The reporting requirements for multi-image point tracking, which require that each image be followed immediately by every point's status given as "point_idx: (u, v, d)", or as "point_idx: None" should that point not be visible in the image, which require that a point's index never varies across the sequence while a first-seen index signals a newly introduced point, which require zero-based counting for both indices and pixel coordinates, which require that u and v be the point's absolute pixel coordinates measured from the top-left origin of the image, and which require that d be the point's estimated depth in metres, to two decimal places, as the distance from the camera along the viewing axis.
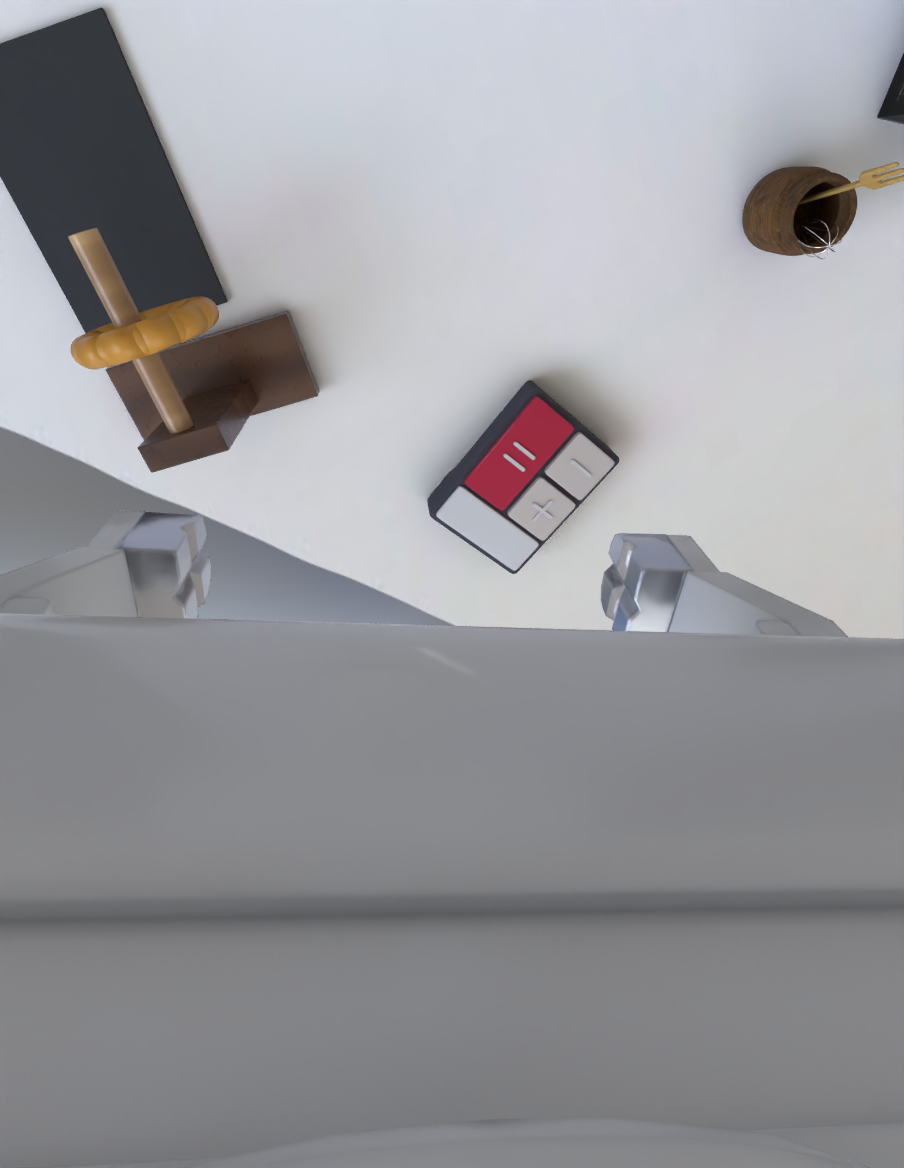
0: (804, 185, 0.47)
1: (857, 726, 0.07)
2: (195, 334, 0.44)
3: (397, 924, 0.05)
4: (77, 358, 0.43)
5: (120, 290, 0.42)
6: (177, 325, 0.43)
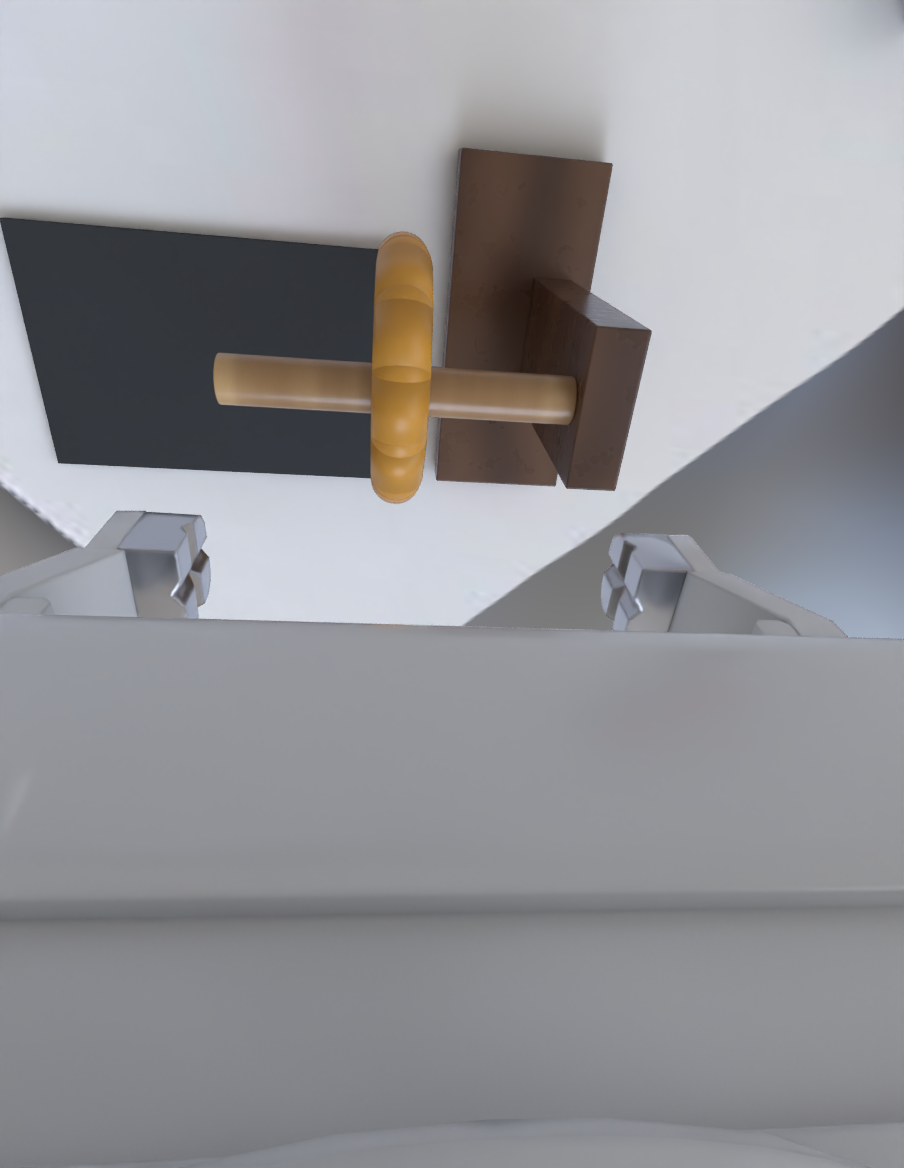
0: None
1: (856, 725, 0.07)
2: (429, 278, 0.22)
3: (397, 924, 0.05)
4: (395, 495, 0.25)
5: (318, 369, 0.24)
6: (400, 294, 0.21)
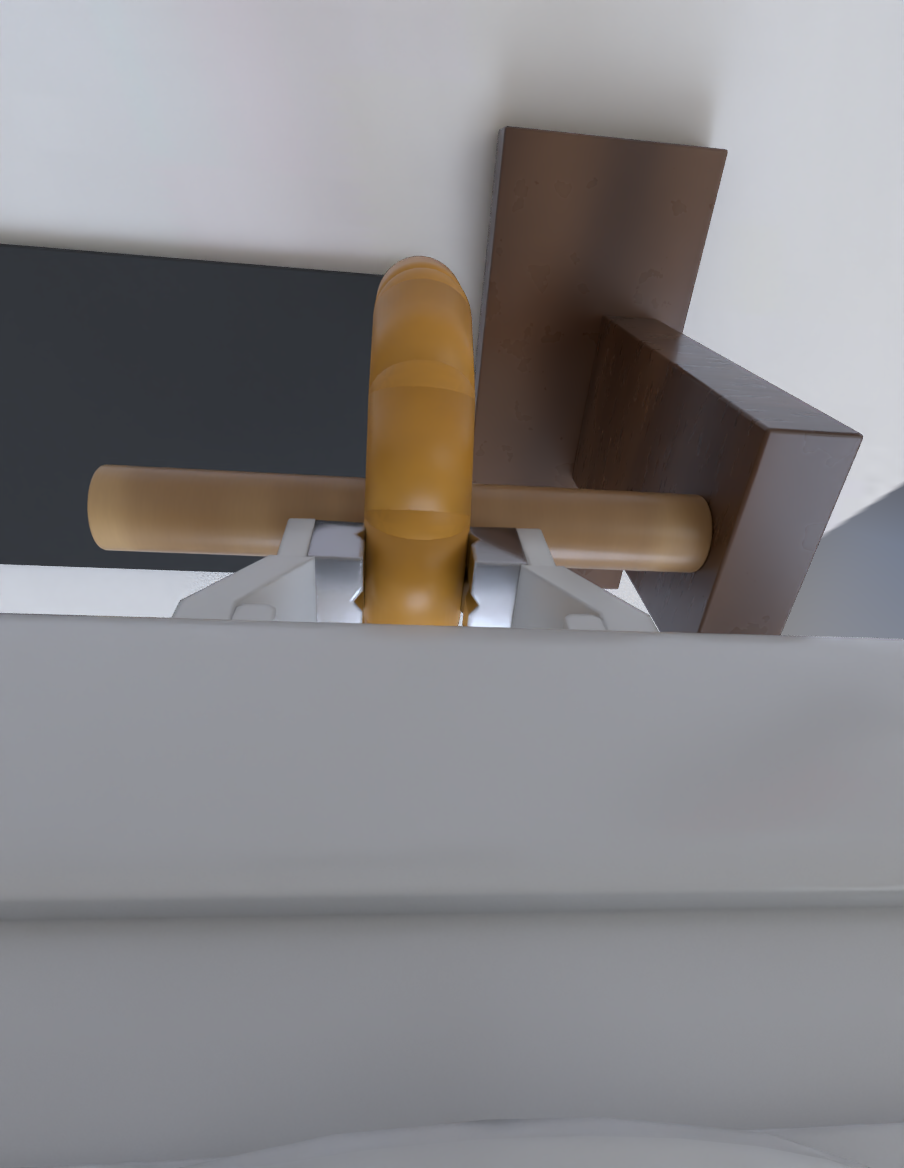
0: None
1: (857, 726, 0.07)
2: (468, 343, 0.13)
3: (396, 925, 0.05)
4: None
5: (272, 494, 0.14)
6: (418, 379, 0.11)
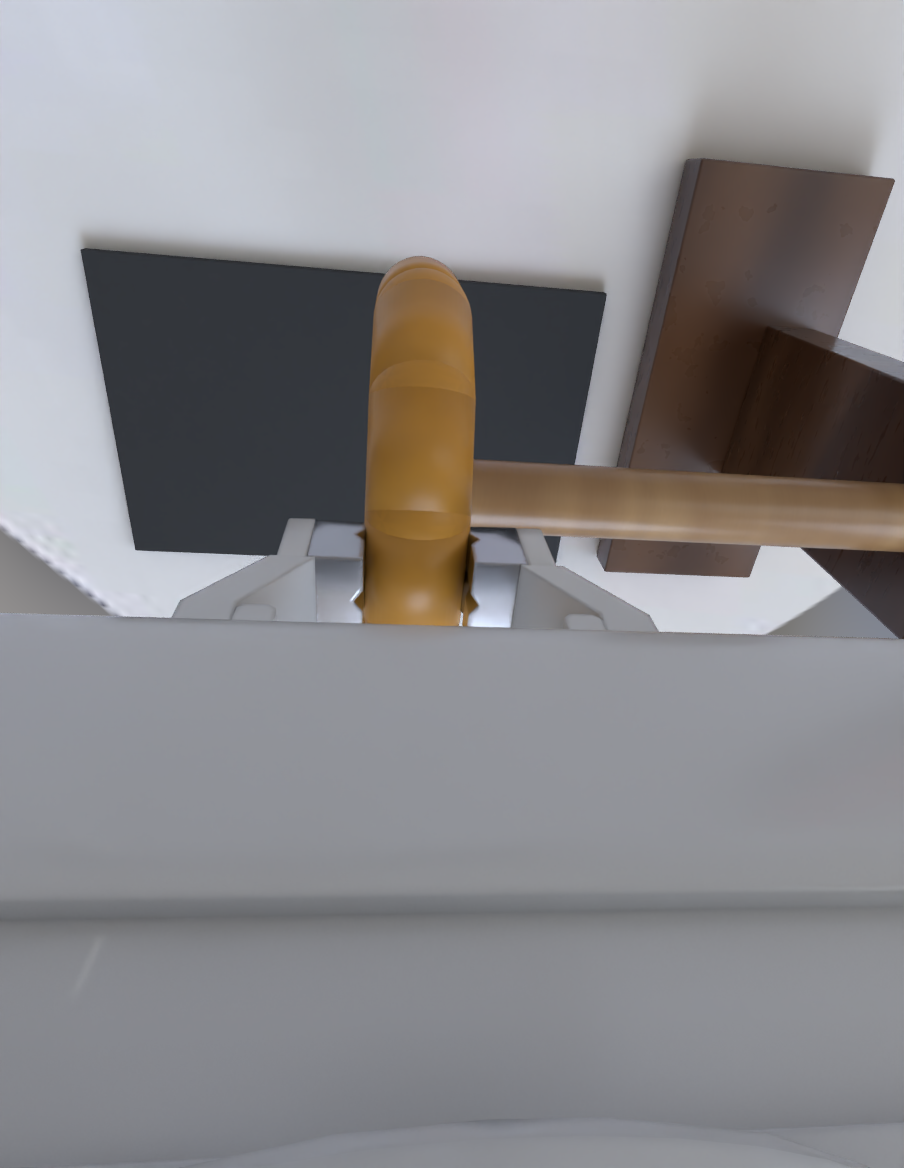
0: None
1: (857, 726, 0.07)
2: (468, 343, 0.13)
3: (397, 924, 0.05)
4: None
5: (578, 482, 0.16)
6: (418, 379, 0.11)
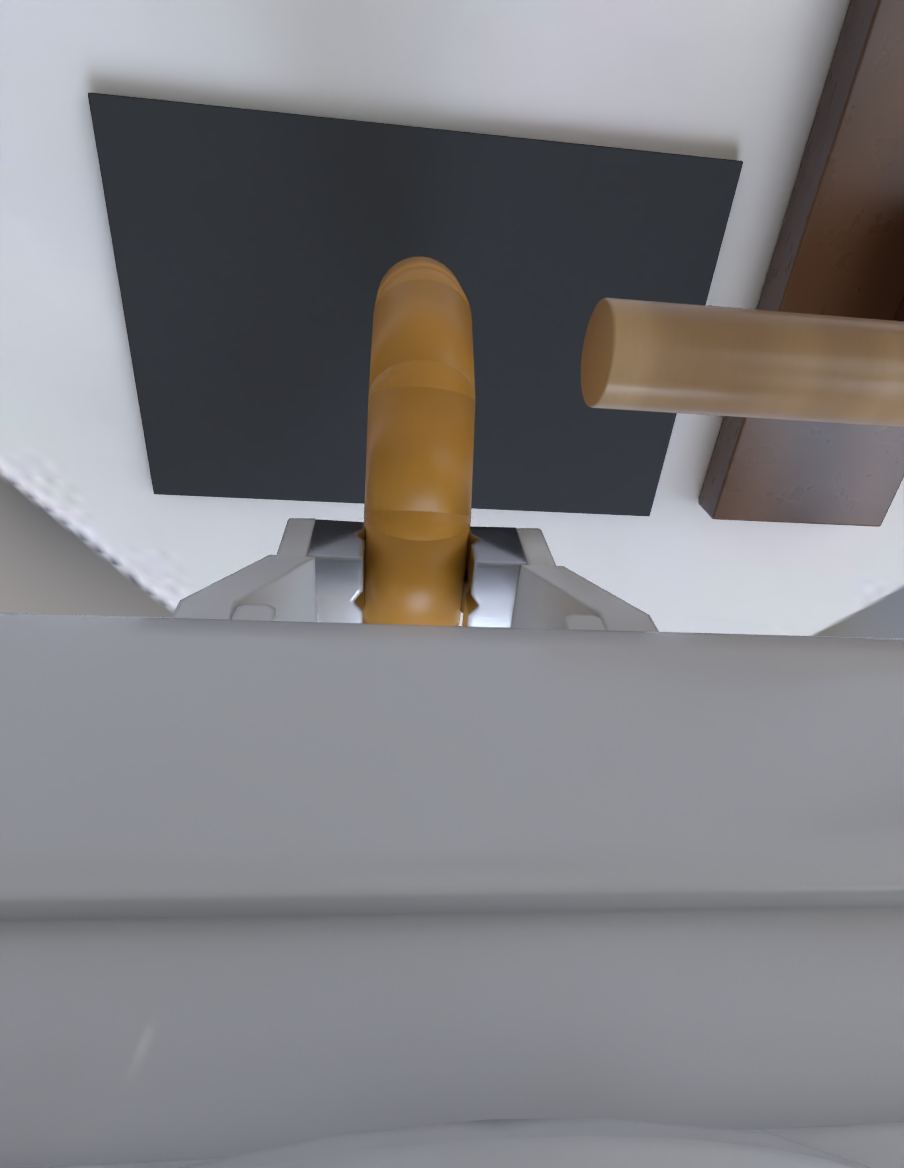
0: None
1: (857, 726, 0.07)
2: (468, 343, 0.13)
3: (397, 925, 0.05)
4: None
5: (819, 332, 0.11)
6: (418, 379, 0.11)
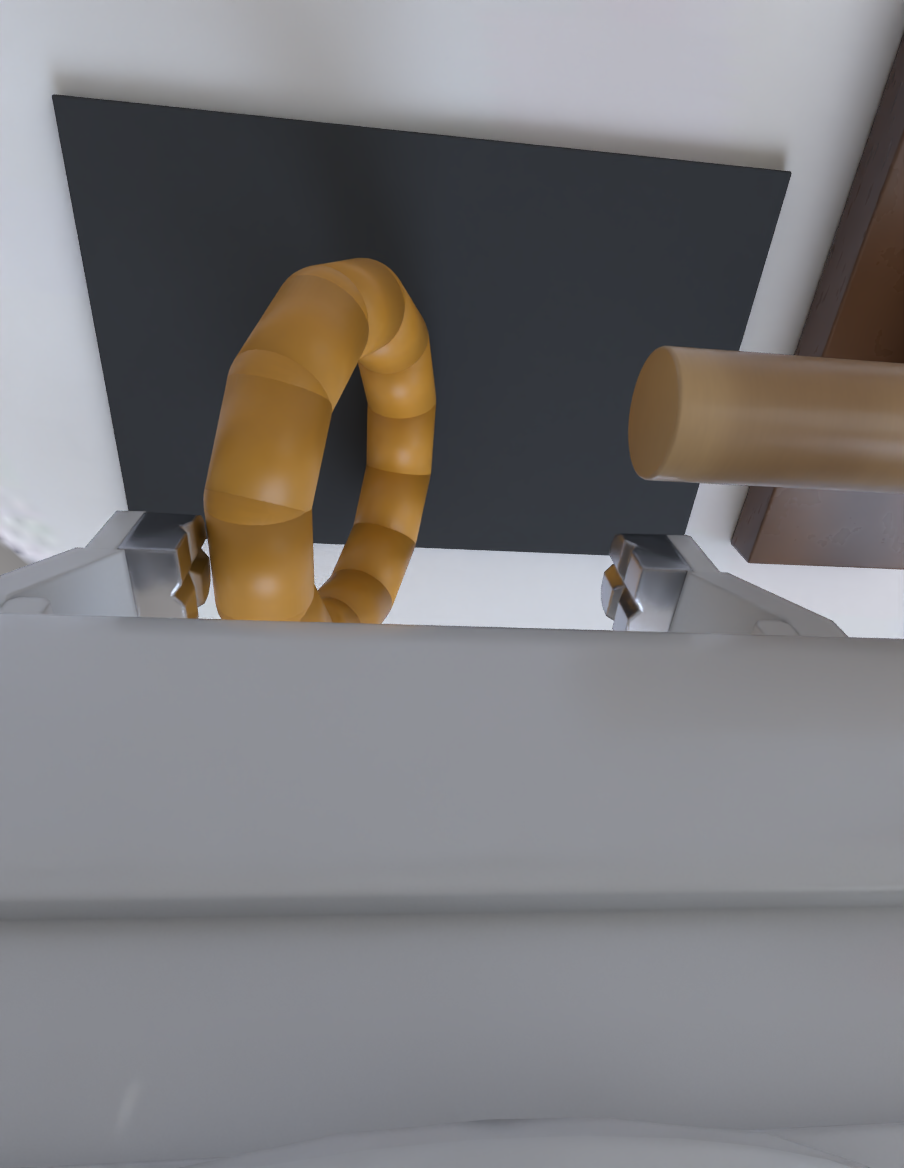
0: None
1: (857, 726, 0.07)
2: (334, 340, 0.13)
3: (397, 924, 0.05)
4: None
5: None
6: (252, 368, 0.12)
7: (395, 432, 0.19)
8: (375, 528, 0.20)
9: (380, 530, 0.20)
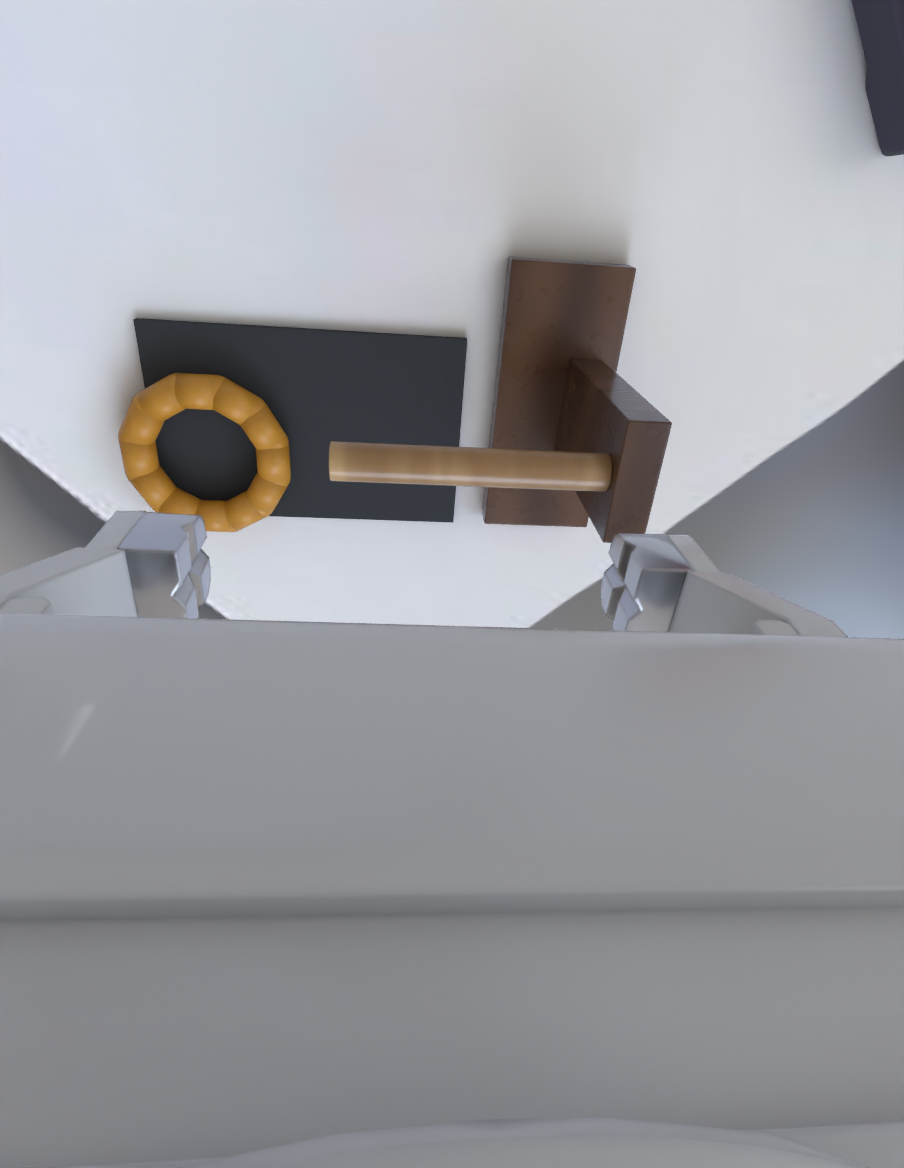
0: None
1: (856, 725, 0.07)
2: (153, 395, 0.38)
3: (397, 926, 0.05)
4: None
5: (409, 453, 0.30)
6: None
7: (256, 454, 0.41)
8: (245, 492, 0.42)
9: (244, 493, 0.42)
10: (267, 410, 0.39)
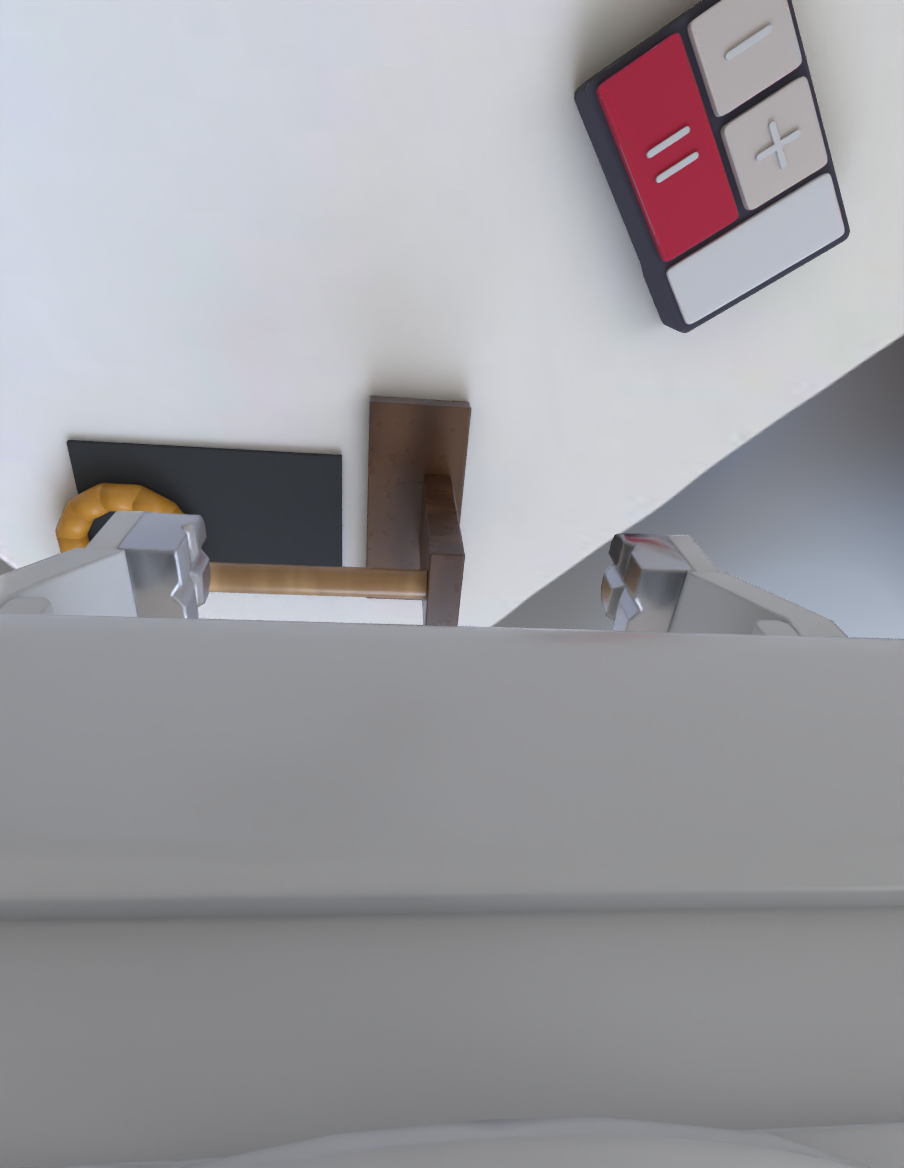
0: None
1: (856, 725, 0.07)
2: (82, 502, 0.47)
3: (397, 925, 0.05)
4: None
5: (268, 573, 0.39)
6: None
7: None
8: None
9: None
10: (178, 512, 0.48)
